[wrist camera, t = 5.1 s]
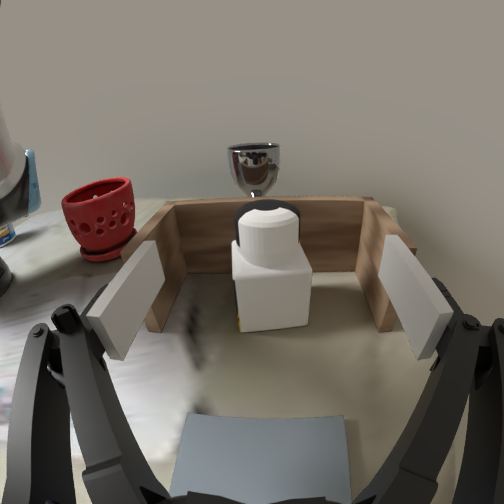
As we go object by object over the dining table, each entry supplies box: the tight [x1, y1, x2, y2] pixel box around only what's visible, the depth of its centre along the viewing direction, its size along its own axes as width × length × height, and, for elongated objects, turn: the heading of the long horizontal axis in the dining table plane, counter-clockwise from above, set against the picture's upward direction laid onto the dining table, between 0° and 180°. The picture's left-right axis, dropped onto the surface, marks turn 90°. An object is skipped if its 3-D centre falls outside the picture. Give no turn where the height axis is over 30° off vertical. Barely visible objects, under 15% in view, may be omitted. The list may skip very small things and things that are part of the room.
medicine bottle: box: [232, 199, 312, 332], centre depth 27 cm, size 7×7×12 cm
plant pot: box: [61, 177, 137, 262], centre depth 42 cm, size 13×13×12 cm
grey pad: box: [169, 413, 352, 504], centre depth 13 cm, size 12×12×1 cm
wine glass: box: [227, 143, 281, 197], centre depth 42 cm, size 8×8×15 cm
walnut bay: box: [120, 196, 417, 333], centre depth 29 cm, size 13×26×10 cm, turn 86°
